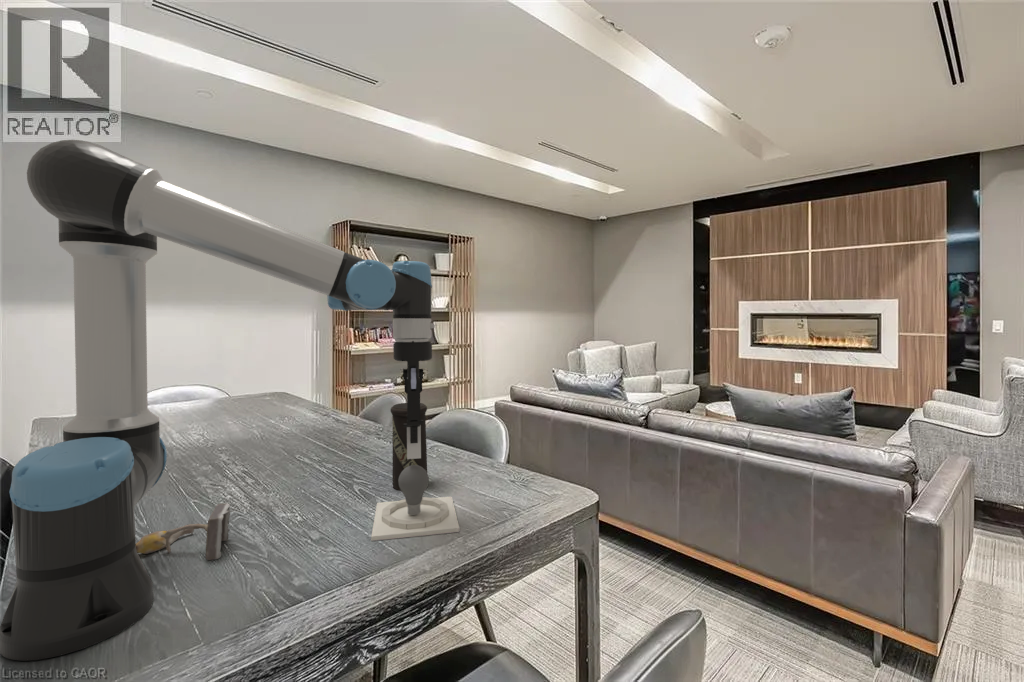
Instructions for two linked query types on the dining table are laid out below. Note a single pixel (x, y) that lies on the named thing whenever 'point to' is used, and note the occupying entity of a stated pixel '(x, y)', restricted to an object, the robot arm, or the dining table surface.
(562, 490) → the dining table surface
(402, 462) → the container
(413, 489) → the light bulb
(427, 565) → the dining table surface
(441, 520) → the socket
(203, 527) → the decorative sculpture
